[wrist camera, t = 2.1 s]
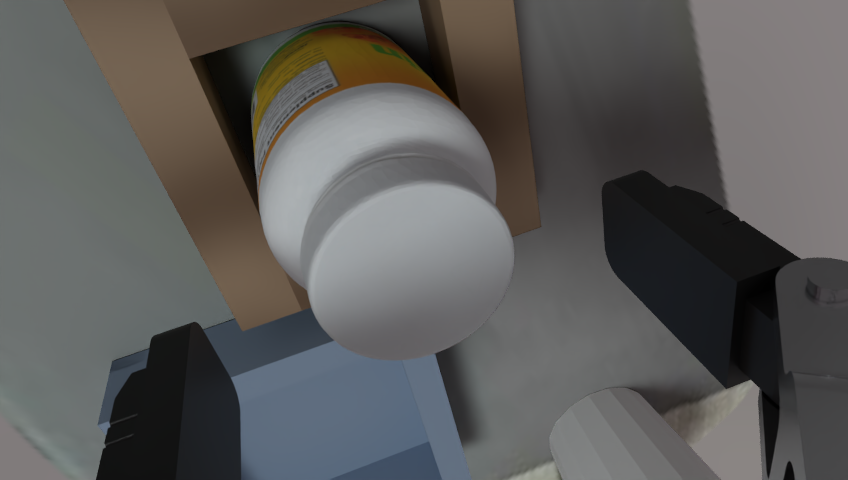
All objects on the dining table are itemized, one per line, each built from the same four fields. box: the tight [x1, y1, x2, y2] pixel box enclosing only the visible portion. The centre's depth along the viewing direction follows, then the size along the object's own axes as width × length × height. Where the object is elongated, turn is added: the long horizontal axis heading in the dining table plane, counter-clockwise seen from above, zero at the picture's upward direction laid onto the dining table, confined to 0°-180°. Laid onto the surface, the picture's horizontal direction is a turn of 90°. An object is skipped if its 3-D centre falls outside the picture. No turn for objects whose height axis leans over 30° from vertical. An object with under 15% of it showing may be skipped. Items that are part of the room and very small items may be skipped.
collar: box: [64, 0, 541, 331], centre depth 18 cm, size 10×10×2 cm
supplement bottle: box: [251, 22, 515, 361], centre depth 15 cm, size 5×5×10 cm
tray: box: [98, 308, 471, 480], centre depth 24 cm, size 11×11×3 cm
